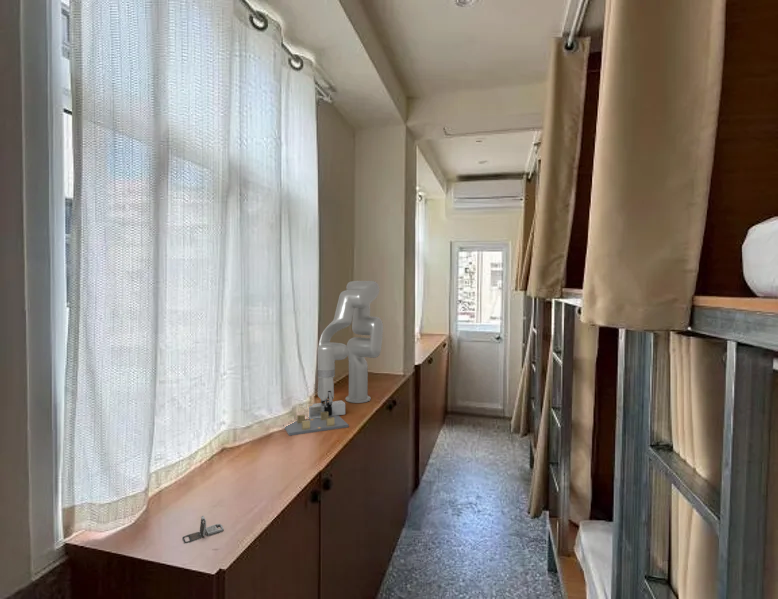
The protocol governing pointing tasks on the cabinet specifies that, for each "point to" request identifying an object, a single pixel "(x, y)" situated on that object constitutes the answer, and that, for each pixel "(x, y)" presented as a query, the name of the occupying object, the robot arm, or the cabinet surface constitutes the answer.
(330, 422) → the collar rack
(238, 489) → the cabinet surface
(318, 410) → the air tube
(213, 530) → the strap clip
